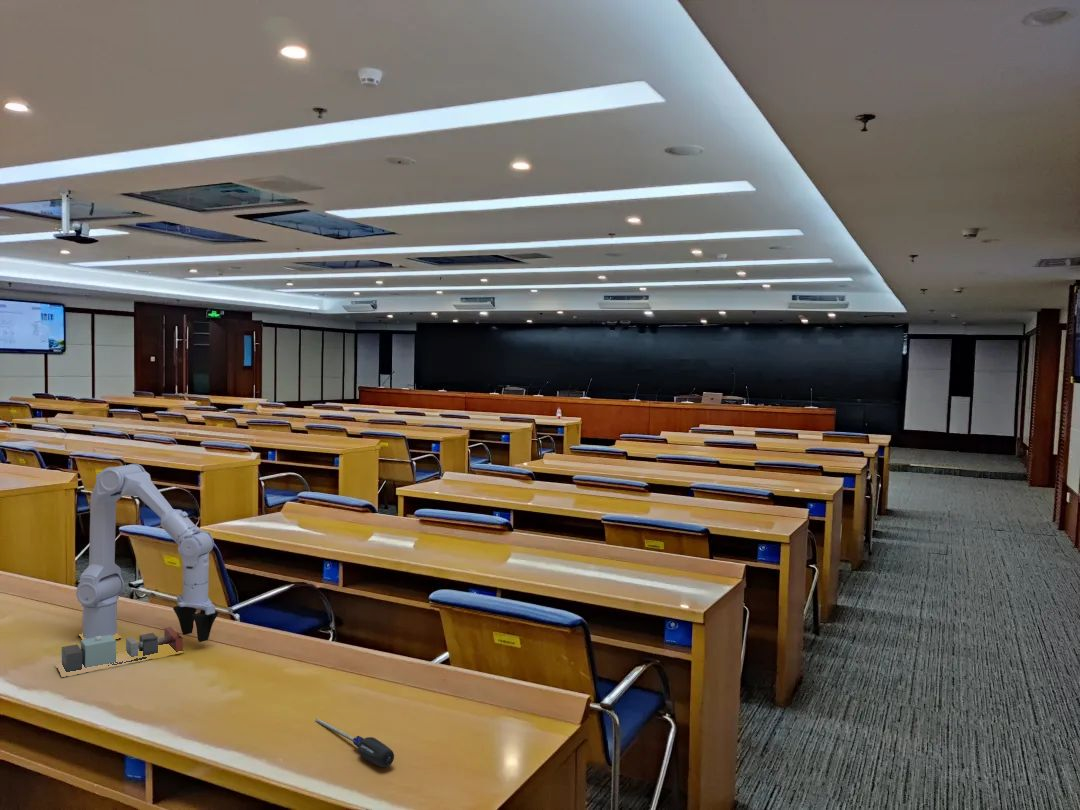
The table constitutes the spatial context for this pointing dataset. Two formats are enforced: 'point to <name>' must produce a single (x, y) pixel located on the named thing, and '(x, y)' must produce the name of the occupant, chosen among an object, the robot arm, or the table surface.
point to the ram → (169, 638)
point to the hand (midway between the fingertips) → (195, 637)
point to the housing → (98, 651)
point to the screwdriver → (367, 747)
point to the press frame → (74, 662)
